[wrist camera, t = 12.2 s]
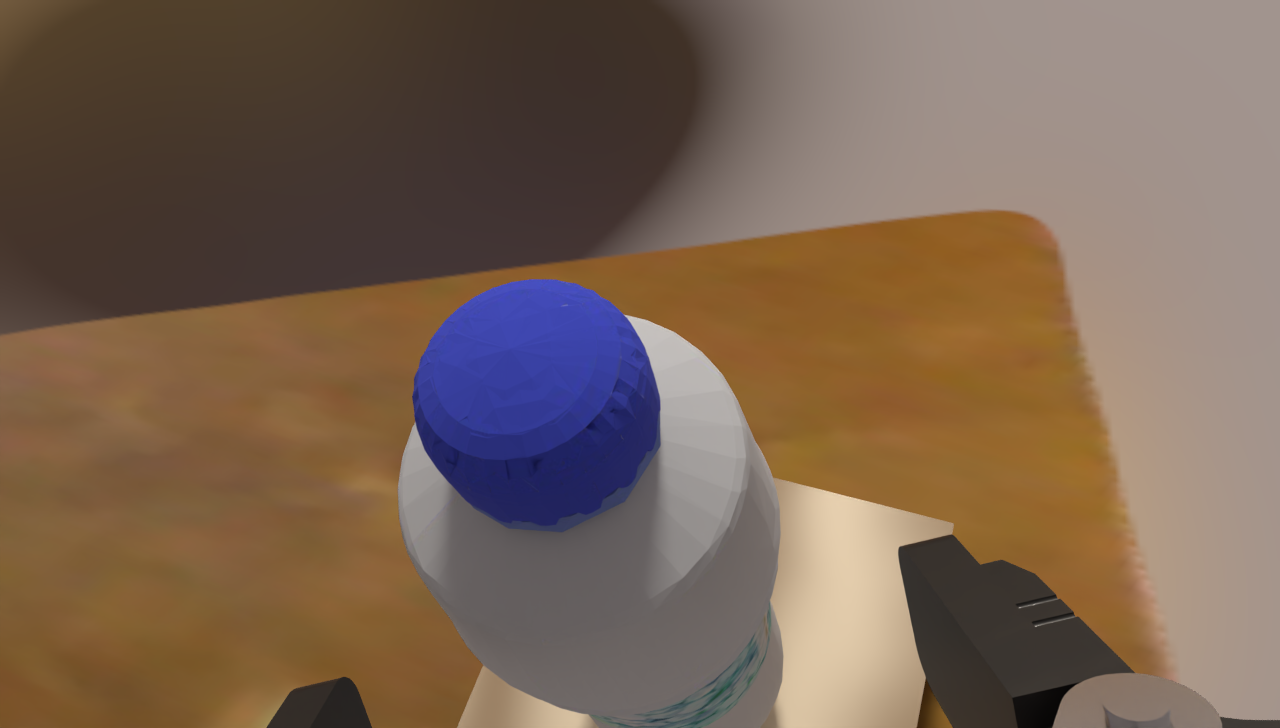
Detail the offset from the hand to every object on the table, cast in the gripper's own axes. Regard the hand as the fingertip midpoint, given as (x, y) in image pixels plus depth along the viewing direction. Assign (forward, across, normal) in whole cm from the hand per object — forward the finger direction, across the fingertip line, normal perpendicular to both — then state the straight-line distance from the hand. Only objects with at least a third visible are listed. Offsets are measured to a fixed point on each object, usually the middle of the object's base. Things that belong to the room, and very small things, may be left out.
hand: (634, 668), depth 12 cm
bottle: (+14, 0, +9) cm, 17 cm away
